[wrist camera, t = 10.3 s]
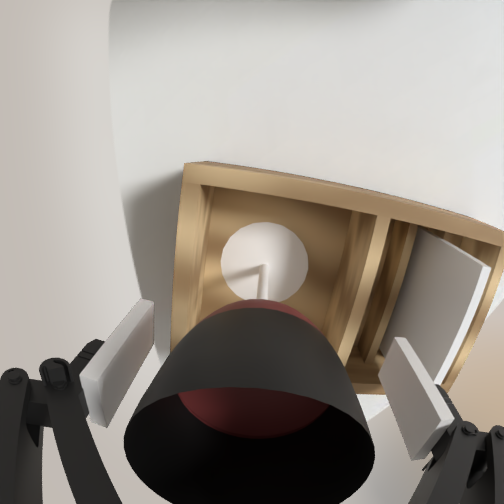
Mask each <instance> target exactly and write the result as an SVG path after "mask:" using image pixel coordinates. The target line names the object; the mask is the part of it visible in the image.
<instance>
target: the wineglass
mask: <svg viewBox="0 0 504 504" xmlns="http://www.w3.org/2000/svg"><path fill="white" fill-rule="evenodd" d="M221 269H222V275H223V277H224V279H225V281H226V283H227V285H228V287H229V288H230V289H231V290H232V291H233V292H234V293H235V294H236V295H237V296H239V297H241V298H243V299H244V300H241V301H237V302H233V303H230V304H227V305H225V306H223V307H221V308H219V309H217V310H216V311H214V312H212V313H211V314H209V315H208V316H207V317H205V318H204V319H203V320H201V321H200V322H199V323H198V324H196V325H195V326H194V327H193V328H192V329H191V330H190V331H189V332H188V333H187V334H186V335H185V336H184V337H183V338H182V339H181V341H180V342H179V343H178V344H177V345H176V347H175V348H174V349H173V351H172V352H171V353H170V355H169V356H168V358H167V359H166V361H165V362H164V364H163V365H162V367H161V368H160V370H159V371H158V373H157V375H156V376H155V378H154V379H153V381H152V383H151V384H150V386H149V387H148V389H147V390H146V392H145V394H144V395H143V397H142V398H141V400H140V402H139V404H138V406H137V408H136V409H135V411H134V413H133V416H132V417H131V419H130V421H129V423H128V425H127V428H126V431H125V435H124V450H125V454H126V457H127V460H128V462H129V463H130V465H131V467H132V469H133V470H134V472H135V473H136V474H137V476H138V477H139V478H140V479H141V480H142V481H143V482H144V483H145V484H146V485H147V486H148V487H149V488H150V489H151V490H153V491H154V492H155V493H156V494H158V495H159V496H161V497H162V498H164V499H165V500H167V501H169V502H170V503H172V504H340V503H341V502H343V501H344V500H346V499H347V498H349V497H350V496H351V495H352V494H353V493H355V492H356V491H357V490H358V489H359V488H360V487H361V486H362V485H363V483H364V482H365V481H366V480H367V478H368V476H369V474H370V472H371V470H372V468H373V464H374V460H375V451H374V444H373V441H372V438H371V434H370V431H369V428H368V425H367V422H366V419H365V416H364V414H363V411H362V408H361V406H360V403H359V401H358V398H357V395H356V393H355V391H354V388H353V386H352V383H351V381H350V378H349V376H348V374H347V371H346V369H345V367H344V365H343V363H342V361H341V360H340V358H339V356H338V354H337V353H336V351H335V350H334V348H333V347H332V345H331V344H330V343H329V341H328V340H327V338H326V337H325V336H324V334H323V333H322V332H321V331H320V330H319V329H318V328H317V327H316V326H315V325H314V324H313V323H312V322H311V321H310V320H309V319H308V318H307V317H306V316H304V315H303V314H301V313H300V312H299V311H297V310H296V309H294V308H292V307H290V306H288V305H286V304H283V303H280V302H281V301H283V300H286V299H288V298H289V297H290V296H292V295H293V294H294V293H296V292H297V291H298V290H299V288H300V287H301V285H302V284H303V282H304V281H305V278H306V275H307V271H308V255H307V252H306V250H305V247H304V245H303V243H302V241H301V240H300V239H299V238H298V237H297V236H296V234H295V233H294V232H292V231H291V230H289V229H287V228H286V227H284V226H282V225H279V224H275V223H270V222H260V223H252V224H250V225H247V226H245V227H243V228H240V229H239V230H238V231H237V232H236V233H234V234H233V235H232V236H231V237H230V238H229V240H228V242H227V243H226V245H225V247H224V248H223V252H222V257H221Z"/></svg>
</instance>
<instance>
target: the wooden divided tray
mask: <svg viewBox="0 0 504 504" xmlns="http://www.w3.org/2000/svg"><path fill="white" fill-rule="evenodd" d="M260 222H270V223H275V224H279V225H282V226H284V227H286V228H287V229H289V230H291V231H292V232H294V233H295V234H296V236H297V237H298V238H299V239H300V240H301V241H302V243H303V245H304V247H305V250H306V252H307V255H308V271H307V275H306V278H305V281H304V282H303V284H302V285H301V287H300V288H299V290H298V291H297V292H296V293H294V294H293V295H292V296H290V297H289V298H288V299H286V300H283V301H281V302H280V303H283V304H286V305H288V306H290V307H292V308H294V309H296V310H297V311H299V312H300V313H301V314H303V315H304V316H306V317H307V318H308V319H309V320H310V321H311V322H312V323H313V324H314V325H315V326H316V327H317V328H318V329H319V330H320V331H321V332H322V333H323V334H324V336H325V337H326V338H327V340H328V341H329V343H330V344H331V345H332V347H333V348H334V350H335V351H336V353H337V354H338V356H339V358H340V360H341V361H342V363H343V365H344V367H345V369H346V371H347V374H348V376H349V378H350V381H351V383H352V386H353V388H354V391H355V393H356V394H379V395H386V394H385V391H384V389H383V386H382V384H381V382H380V379H379V377H378V374H379V371H380V369H381V367H382V365H383V363H384V360H385V358H384V356H383V354H382V352H381V350H380V348H379V346H380V343H381V341H382V338H383V336H384V333H385V331H386V328H387V325H388V323H389V320H390V317H391V314H392V312H393V309H394V306H395V303H396V300H397V297H398V294H399V291H400V288H401V285H402V282H403V279H404V275H405V272H406V269H407V265H408V262H409V259H410V255H411V251H412V248H413V244H414V240H415V237H416V233H417V229H418V226H421V227H422V228H424V229H426V230H428V231H430V232H432V233H433V234H435V235H437V236H439V237H441V238H442V239H444V240H446V241H448V242H449V243H451V244H453V245H455V246H456V247H458V248H460V249H461V250H463V251H465V252H466V253H468V254H470V255H471V256H473V257H475V258H476V259H478V260H480V261H481V262H483V263H484V264H486V265H488V266H489V267H491V271H490V274H489V277H488V280H487V282H486V285H485V288H484V291H483V294H482V296H481V299H480V302H479V304H478V307H477V309H476V312H475V314H474V317H473V319H472V321H471V324H470V326H469V328H468V331H467V333H466V335H465V337H464V339H463V342H462V344H461V346H460V348H459V350H458V352H457V354H456V356H455V358H454V360H453V362H452V364H451V366H450V368H449V370H448V372H447V374H446V375H445V377H444V379H443V381H442V383H441V385H440V386H441V387H442V388H443V389H444V390H445V391H446V393H448V392H449V389H450V388H451V386H452V385H453V383H454V381H455V379H456V377H457V376H458V374H459V372H460V370H461V368H462V366H463V365H464V363H465V361H466V359H467V357H468V355H469V353H470V351H471V349H472V347H473V344H474V343H475V340H476V338H477V336H478V334H479V332H480V329H481V327H482V325H483V323H484V320H485V318H486V316H487V313H488V311H489V308H490V306H491V303H492V301H493V298H494V295H495V293H496V290H497V287H498V284H499V281H500V278H501V276H502V273H503V269H504V231H502V230H500V229H498V228H495V227H493V226H491V225H488V224H486V223H483V222H481V221H478V220H476V219H473V218H471V217H468V216H465V215H461V214H458V213H455V212H451V211H448V210H444V209H441V208H437V207H434V206H430V205H427V204H423V203H419V202H416V201H412V200H408V199H404V198H400V197H396V196H392V195H388V194H384V193H380V192H376V191H372V190H367V189H363V188H358V187H354V186H349V185H345V184H340V183H335V182H330V181H325V180H320V179H315V178H310V177H305V176H299V175H294V174H288V173H283V172H277V171H271V170H265V169H258V168H252V167H245V166H238V165H231V164H224V163H217V162H209V161H203V162H192V163H184V170H183V178H182V187H181V196H180V205H179V215H178V225H177V236H176V248H175V261H174V276H173V293H172V314H171V344H170V353H171V352H172V351H173V349H174V348H175V347H176V345H177V344H178V343H179V342H180V341H181V339H182V338H183V337H184V336H185V335H186V334H187V333H188V332H189V331H190V330H191V329H192V328H193V327H194V326H195V325H196V324H198V323H199V322H200V321H201V320H203V319H204V318H205V317H207V316H208V315H209V314H211V313H212V312H214V311H216V310H217V309H219V308H221V307H223V306H225V305H227V304H230V303H233V302H237V301H241V300H244V299H243V298H241V297H239V296H237V295H236V294H235V293H234V292H233V291H232V290H231V289H230V288H229V287H228V285H227V283H226V281H225V279H224V277H223V275H222V269H221V257H222V252H223V248H224V247H225V245H226V243H227V242H228V240H229V238H230V237H231V236H232V235H233V234H234V233H236V232H237V231H238V230H239V229H240V228H243V227H245V226H247V225H250V224H252V223H260Z"/></svg>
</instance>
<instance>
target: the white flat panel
mask: <svg viewBox="0 0 504 504" xmlns="http://www.w3.org/2000/svg"><path fill="white" fill-rule="evenodd" d="M490 271H491V267H489V266H488V265H486V264H484V263H483V262H481V261H480V260H478V259H476V258H475V257H473V256H471V255H470V254H468V253H466V252H465V251H463V250H461V249H460V248H458V247H456V246H455V245H453V244H451V243H449V242H448V241H446V240H444V239H442V238H441V237H439V236H437V235H435V234H433V233H432V232H430V231H428V230H426V229H424V228H422V227H421V226H418V229H417V233H416V237H415V240H414V244H413V248H412V251H411V255H410V259H409V262H408V265H407V269H406V272H405V275H404V279H403V282H402V285H401V288H400V291H399V294H398V297H397V300H396V303H395V306H394V309H393V312H392V314H391V317H390V320H389V323H388V325H387V328H386V331H385V333H384V336H383V338H382V341H381V343H380V346H379V348H380V350H381V352H382V354H383V356H384V358H386V356H387V353H388V351H389V349H390V346H391V344H392V341H393V339H394V337H402V338H406V339H407V341H408V342H409V344H410V345H411V347H412V348H413V350H414V352H415V353H416V355H417V356H418V358H419V360H420V361H421V363H422V364H423V366H424V368H425V369H426V371H427V372H428V374H429V376H430V377H431V379H432V381H433V382H434V384H438V385H441V383H442V381H443V379H444V377H445V375H446V374H447V372H448V370H449V368H450V366H451V364H452V362H453V360H454V358H455V356H456V354H457V352H458V350H459V348H460V346H461V344H462V342H463V339H464V337H465V335H466V333H467V331H468V328H469V326H470V324H471V321H472V319H473V317H474V314H475V312H476V309H477V307H478V304H479V302H480V299H481V296H482V294H483V291H484V288H485V285H486V282H487V280H488V277H489V274H490Z"/></svg>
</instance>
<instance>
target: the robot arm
mask: <svg viewBox="0 0 504 504" xmlns="http://www.w3.org/2000/svg"><path fill="white" fill-rule="evenodd" d="M153 344H154V301H150V300H145V299H140V300H139V301H138V302H137V304H136V305H135V306H134V307H133V308H132V310H131V311H130V312H129V313H128V315H127V316H126V317H125V318H124V319H123V321H122V322H121V323H120V324H119V325H118V327H117V328H116V329H115V330H114V331H113V333H112V334H111V335H110V336H109V338H108V339H107V340H106V341H101V340H98V339H95V340H93V341H91V342H89V343H87V345H86V346H85V347H84V348H83V349H82V351H81V352H80V353H79V354H78V355H77V356H76V357H75V359H74V360H73V361H72V362H71V363H70V364H69V363H68V362H67V361H66V360H64V359H61V358H50V359H47V360H45V361H44V362H43V363H42V364H41V365H40V368H39V372H40V375H41V379H42V381H40V380H33V379H29V377H28V374H27V373H26V371H24V370H23V369H20V368H11V369H9V370H7V371H5V372H4V373H3V375H2V376H1V379H0V504H43V500H42V446H43V429H44V427H51V428H53V432H54V436H55V440H56V443H57V447H58V450H59V454H60V457H61V461H62V464H63V467H64V470H65V473H66V476H67V479H68V482H69V485H70V488H71V491H72V493H73V496H74V498H75V501H76V504H122V502H121V500H120V498H119V497H118V494H117V492H116V490H115V488H114V486H113V484H112V482H111V480H110V478H109V476H108V473H107V471H106V469H105V467H104V465H103V462H102V460H101V457H100V455H99V452H98V450H97V448H96V445H95V443H94V440H93V438H92V435H91V432H90V429H89V427H88V424H87V421H86V417H87V416H88V414H89V416H90V419H91V422H92V423H95V424H98V425H101V426H103V427H106V428H107V427H108V426H109V424H110V422H111V420H112V418H113V416H114V414H115V412H116V411H117V409H118V407H119V405H120V403H121V401H122V400H123V398H124V396H125V394H126V392H127V390H128V389H129V387H130V385H131V383H132V382H133V380H134V378H135V376H136V374H137V373H138V371H139V369H140V367H141V366H142V364H143V362H144V360H145V358H146V357H147V355H148V353H149V351H150V350H151V348H152V346H153ZM378 377H379V379H380V382H381V384H382V386H383V389H384V391H385V394H386V396H387V398H388V401H389V403H390V406H391V408H392V411H393V413H394V416H395V418H396V421H397V423H398V426H399V428H400V431H401V434H402V437H403V439H404V442H405V445H406V447H407V450H408V452H409V455H410V458H411V460H418V459H425V457H426V456H427V455H428V454H429V452H430V451H432V454H433V457H432V458H431V460H430V461H429V462H428V463H427V464H426V466H425V467H424V468H423V469H422V470H423V471H424V470H425V469H426V470H425V472H424V474H423V476H422V478H421V480H420V483H419V484H418V486H417V488H416V490H415V492H414V494H413V496H412V498H411V499H410V502H409V503H408V504H459V503H460V504H504V427H502V426H497V425H496V426H494V427H493V428H492V429H491V430H490V432H489V433H487V432H479V431H478V428H477V427H476V426H475V425H474V424H472V423H471V422H468V421H463V420H462V418H461V417H460V415H459V413H458V411H457V410H456V408H455V406H454V405H453V404H452V401H451V399H450V398H449V396H448V395H447V393H446V391H445V390H444V389H443V388H442V387H441V386H440V385H438V384H434V382H433V381H432V379H431V377H430V376H429V374H428V372H427V371H426V369H425V368H424V366H423V364H422V363H421V361H420V360H419V358H418V356H417V355H416V353H415V352H414V350H413V348H412V347H411V345H410V344H409V342H408V341H407V339H406V338H402V337H394V339H393V341H392V344H391V346H390V349H389V351H388V353H387V356H386V358H385V360H384V363H383V365H382V367H381V369H380V371H379V374H378Z"/></svg>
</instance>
